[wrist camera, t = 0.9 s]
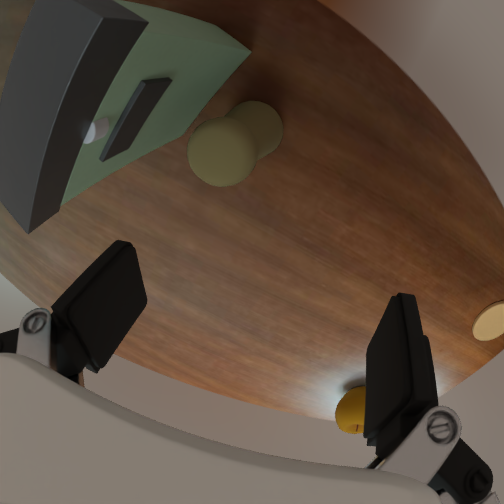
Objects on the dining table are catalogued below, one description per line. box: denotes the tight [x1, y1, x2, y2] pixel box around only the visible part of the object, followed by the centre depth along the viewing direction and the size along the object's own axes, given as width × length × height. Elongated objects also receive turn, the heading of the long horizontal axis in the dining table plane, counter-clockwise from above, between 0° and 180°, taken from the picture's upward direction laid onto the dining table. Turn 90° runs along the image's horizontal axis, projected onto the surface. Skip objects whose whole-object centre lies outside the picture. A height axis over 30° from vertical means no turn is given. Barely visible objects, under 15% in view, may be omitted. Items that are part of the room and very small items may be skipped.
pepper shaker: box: [187, 101, 283, 187], centre depth 24 cm, size 6×6×11 cm
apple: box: [335, 386, 366, 434], centre depth 44 cm, size 9×8×9 cm
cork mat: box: [472, 301, 504, 341], centre depth 32 cm, size 8×8×1 cm
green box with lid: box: [0, 0, 252, 234], centre depth 18 cm, size 13×6×21 cm, turn 138°
